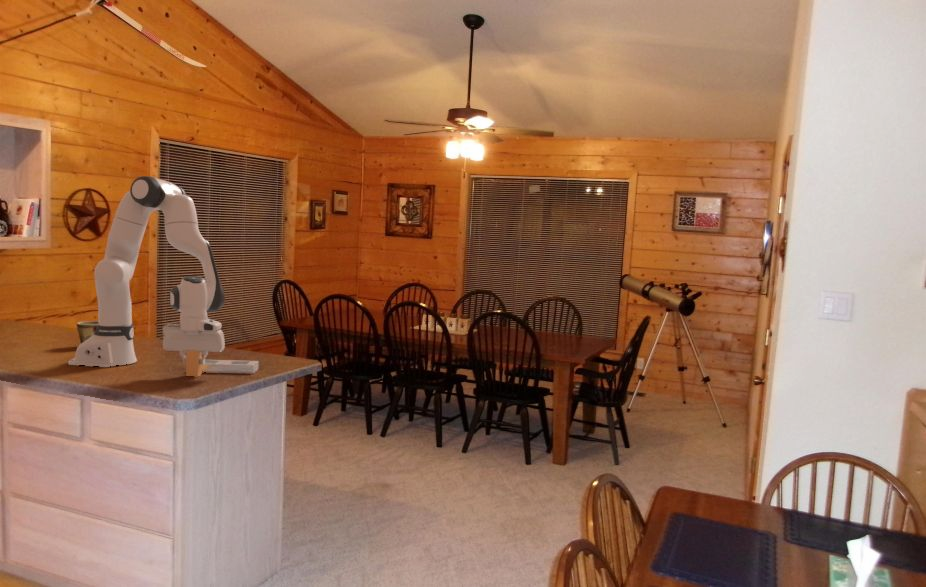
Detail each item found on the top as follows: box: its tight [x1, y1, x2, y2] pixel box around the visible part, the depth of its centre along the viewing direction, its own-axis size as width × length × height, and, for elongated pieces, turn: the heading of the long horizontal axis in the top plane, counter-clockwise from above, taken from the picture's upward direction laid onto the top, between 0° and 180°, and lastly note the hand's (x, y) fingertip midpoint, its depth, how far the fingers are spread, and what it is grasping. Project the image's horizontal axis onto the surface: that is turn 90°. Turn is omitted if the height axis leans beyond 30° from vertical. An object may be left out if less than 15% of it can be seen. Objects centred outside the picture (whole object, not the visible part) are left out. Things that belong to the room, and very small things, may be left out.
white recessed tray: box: [202, 359, 260, 375], centre depth 256 cm, size 22×8×3 cm, turn 93°
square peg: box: [185, 351, 203, 378], centre depth 247 cm, size 4×4×9 cm
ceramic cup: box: [76, 320, 98, 344], centre depth 292 cm, size 13×10×10 cm
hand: (193, 363), depth 247 cm, fingers closed on square peg, 4 cm apart
